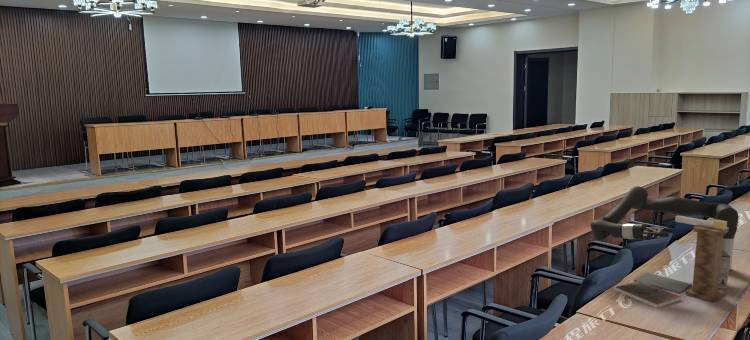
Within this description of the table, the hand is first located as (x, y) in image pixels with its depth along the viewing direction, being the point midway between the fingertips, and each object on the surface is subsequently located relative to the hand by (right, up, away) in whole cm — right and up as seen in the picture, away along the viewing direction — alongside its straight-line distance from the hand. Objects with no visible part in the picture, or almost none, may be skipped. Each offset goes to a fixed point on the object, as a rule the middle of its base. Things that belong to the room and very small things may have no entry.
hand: (671, 232), depth 248 cm
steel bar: (+11, +4, -4) cm, 12 cm away
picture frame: (-11, -30, -1) cm, 32 cm away
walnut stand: (+15, -28, -2) cm, 32 cm away
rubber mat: (+3, -26, +12) cm, 29 cm away
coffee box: (+27, -26, +9) cm, 38 cm away
